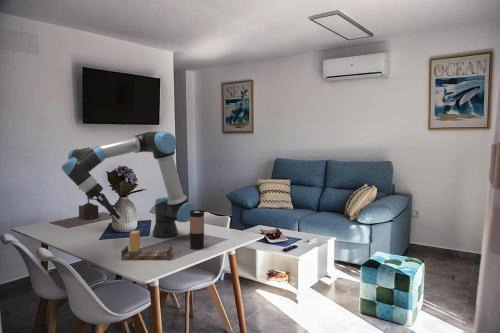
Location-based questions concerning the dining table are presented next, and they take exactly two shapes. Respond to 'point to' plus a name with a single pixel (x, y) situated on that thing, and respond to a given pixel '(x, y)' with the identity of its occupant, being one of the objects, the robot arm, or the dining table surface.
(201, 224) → the travel mug
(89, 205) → the brown manual coffee grinder
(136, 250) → the fader knob
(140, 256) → the fader rail
